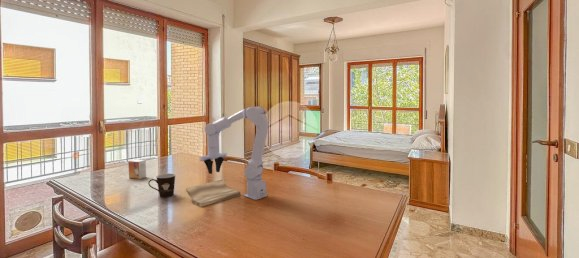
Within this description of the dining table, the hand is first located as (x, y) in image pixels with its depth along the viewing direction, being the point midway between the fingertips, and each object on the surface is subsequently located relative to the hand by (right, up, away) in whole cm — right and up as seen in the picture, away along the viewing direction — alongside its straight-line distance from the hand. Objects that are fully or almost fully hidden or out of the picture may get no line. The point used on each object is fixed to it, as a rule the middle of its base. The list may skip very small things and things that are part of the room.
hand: (214, 172), depth 151 cm
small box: (-54, -7, +29) cm, 62 cm away
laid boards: (+4, -11, -10) cm, 16 cm away
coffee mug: (-24, -11, -5) cm, 27 cm away
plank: (-2, -8, -5) cm, 10 cm away
